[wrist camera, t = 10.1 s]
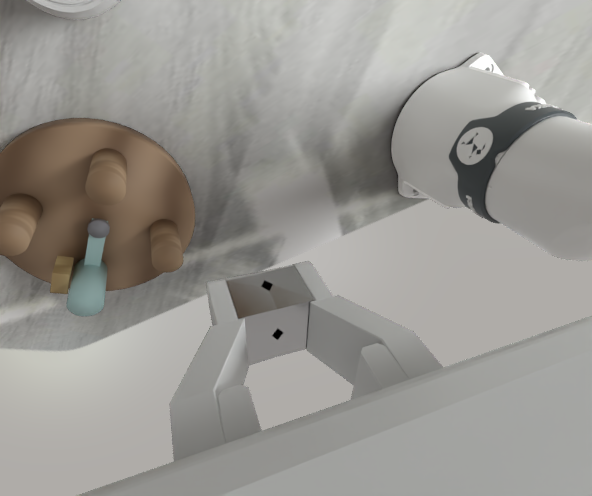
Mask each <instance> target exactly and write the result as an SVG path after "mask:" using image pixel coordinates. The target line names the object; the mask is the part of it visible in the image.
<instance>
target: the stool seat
mask: <svg viewBox="0 0 592 496" xmlns="http://www.w3.org/2000/svg"><path fill="white" fill-rule="evenodd" d="M92 218H93V219H103V220H105V221H108V223H109V226H110V230H109V234H108V235H107V236H106V238H105V243H104V248H103V253H102V259H101V261H103V262H104V263H105V264H106V266H107V269H108V270H107V280H106V290H105V291H112V290H119V289H125V288H129V287H133V286H136V285H139V284H142V283H145V282H147V281H149V280H151V279H154V278H155V277H157V276H159V275H160V274H162V273H164V272H166V273H167V272H173V271H175V270H177V269H179V268H180V267H181V265H182V264H183V253H184V252H185V250H186V248H187V247H188V245H189V243H190V240H191V238H192V235H193V231H194V227H195V207H194V202H193V198H192V194H191V191H190V187H189V184H188V182H187V179H186V177H185V175H184V173H183V172H182V170H181V168H180V167H179V165H178V164H177V163H176V161H175V160H174V159H173V158H172V156H171V155H170V154H169V153H168V152H167V151H166V150H165V149H163V148H162V147H161V146H160V145H158V144H157V143H156V142H155V141H153V140H152V139H150V138H148V137H147V136H145V135H144V134H142V133H140V132H138V131H135V130H133V129H131V128H129V127H126V126H123V125H120V124H117V123H114V122H109V121H105V120H99V119H90V118H69V119H61V120H55V121H51V122H47V123H43V124H41V125H38V126H36V127H33V128H31V129H29V130H27V131H25V132H24V133H22V134H20V135H19V136H17V137H16V138H15V139H14V140H13V141H11V142H10V143H9V144H8V145H7V146H6V147H5V148H4V150H3V151H2V152H1V153H0V255H4V256H6V257H7V258H8V259H10V260H11V261H12V262H13V263H14V264H15V265H17V266H18V267H20V268H21V269H23V270H24V271H26V272H28V273H29V274H31V275H33V276H35V277H37V278H39V279H42V280H44V281H46V282H49V283H51V289H50V293H62V294H67V293H68V288H70V286H71V281H72V277H73V272H74V268H75V265H76V263H77V262H79V261H80V260H82V259H85V256H86V250H87V244H88V238H89V233H88V231H87V228H88V224H89V222H90V221H91V220H92Z"/></svg>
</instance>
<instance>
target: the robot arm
mask: <svg viewBox="0 0 592 496" xmlns="http://www.w3.org/2000/svg"><path fill="white" fill-rule="evenodd" d="M535 92H536V91H535V90H534V89H533V88H531V87H529V84H527V83H526V82H523V81H520V80H517V79H514V78H510V77H507V76H504V75H503V73H502V72H501V71H500V69H499V68H498V67H497V65H496V64H495V62H494V61H493V60H492V58H491V57H490V56H489V55H487V54H484V53H478V54H476V55H474V56H473V57H471V58H470V59H469V60H467V61H466V62H465V63H464V64H462V65H461V66H459V67H457V68H455V69H451V70H448V71H444V72H442V73H439V74H437V75H435V76H434V77H432V78H431V79H429V80H428V81H426V82H425V83H424V84H423V85H422V86H420V87H419V88H418V89H417V90H416V91H415V93H414V94H413V95H412V96H411V97H410V99H409V100H408V101H407V103H406V104H405V106H404V108H403V109H402V111H401V113H400V115H399V117H398V120H397V122H396V125H395V128H394V132H393V136H392V143H391V153H392V159H393V163H394V166H395V168H396V170H397V173H398V191H399V194H400V195H402V196H404V197H407V198H425V199H431V200H432V201H434V202H436V203H437V204H439V205H441V206H442V207H444V208H447V209H448V208H450V207H453V208H461V207H468V208H469V209H471V210H472V211H473V212H474V213H475V214H477V215H479V216H480V217H482V218H485V219H487V220H489V221H491V222H493V223H501V224H503V225H504V226H506V227H507V228H509V229H511V230H512V231H514V232H515V233H517V234H519V235H520V236H522V237H523V238H525V239H526V240H528V241H529V242H531V243H533V244H534V245H536V246H537V247H539V248H541V249H542V250H544V251H545V252H547V253H548V254H550V255H552V256H554V257H557V258H561V259H566V260H576V261H589V260H592V124H591V123H587V122H583V121H580V120H577V118H576V117H575V116H574V115H573V114H572V113H570V112H567V111H564V110H562V109H561V108H558V107H556V106H553V105H549V104H546V102H545V101H544V100H543V99H542V98H540V97H538V96H536V95H534V94H535ZM206 288H207V295H208V300H209V308H210V313H211V320H212V325H213V326H211V327H210V328H209V330H208V332H207V334H206V336H205V338H204V340H203V342H202V343H201V345H200V347H199V349H198V351H197V353H196V355H195V357H194V358H193V361H192V362H191V364H190V366H189V368H188V370H187V372H186V374H185V375H184V377H183V379H182V381H181V383H180V385H179V387H178V389H177V391H176V392H175V394H174V396H173V398H172V400H171V402H170V416H171V431H172V444H173V456H174V462H171V463H169V464H166V465H163V466H160V467H157V468H154V469H151V470H149V471H146V472H143V473H140V474H137V475H134V476H132V477H128V478H126V479H123V480H120V481H117V482H114V483H111V484H109V485H106V486H103V487H100V488H97V489H94V490H91V491H88V492H85V493H82V494H80V495H77V496H592V316H590V317H587V318H584V319H581V320H578V321H575V322H573V323H570V324H567V325H564V326H561V327H558V328H555V329H552V330H550V331H547V332H544V333H541V334H538V335H535V336H532V337H530V338H527V339H524V340H521V341H518V342H515V343H512V344H509V345H507V346H504V347H501V348H498V349H495V350H492V351H489V352H487V353H484V354H481V355H478V356H476V357H472V358H470V359H466V360H464V361H461V362H458V363H455V364H452V365H450V366H446V367H444V368H443V366H442V365H441V364H440V363H439V362H438V360H437V359H436V358H435V357H434V355H433V354H432V353H431V352H430V351H429V349H428V348H427V347H426V346H425V345H424V343H423V342H422V341H421V340H420V338H419V337H418V336H417V335H416V334H415V332H414V331H412V330H410V329H408V328H406V327H404V326H402V325H400V324H397V323H395V322H393V321H391V320H389V319H387V318H385V317H383V316H381V315H379V314H377V313H375V312H373V311H370V310H368V309H366V308H364V307H362V306H360V305H358V304H356V303H354V302H352V301H350V300H347V299H345V298H343V297H341V296H339V295H337V296H333V294H332V293H331V292H330V290H329V289H328V287H327V285H326V284H325V282H324V281H323V279H322V278H321V276H320V275H319V274H318V272H317V270H316V269H315V267H314V266H313V264H312V263H311V262H309V261H305V262H302V263H297V264H293V265H289V266H285V267H280V268H276V269H271V270H266V271H261V272H256V273H250V274H245V275H239V276H234V277H229V278H225V279H219V280H214V281H209V282H206ZM304 349H307V351H308V352H310V353H311V354H312V355H314V356H315V357H316V358H318V359H319V360H320V361H322V362H323V363H324V364H326V365H327V366H328V367H330V368H331V369H332V370H334V371H335V372H336V373H338V374H339V375H340V376H342V377H343V378H344V379H346V380H347V381H348V382H350V383H351V384H352V385H354V387H353V391H352V396H351V400H349V401H346V402H344V403H341V404H338V405H335V406H332V407H329V408H326V409H324V410H320V411H318V412H315V413H312V414H309V415H306V416H303V417H300V418H298V419H295V420H292V421H289V422H286V423H284V424H281V425H278V426H275V427H272V428H269V429H266V430H263V431H261V428H260V424H259V421H258V418H257V414H256V411H255V407H254V404H253V401H252V398H251V394H250V391H249V388H248V387H246V386H244V385H243V384H244V381H245V378H246V375H247V371H248V368H249V365H252V364H255V363H258V362H261V361H265V360H268V359H271V358H274V357H277V356H281V355H285V354H289V353H292V352H296V351H300V350H304Z"/></svg>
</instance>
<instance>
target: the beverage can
mask: <svg viewBox="0 0 592 496" xmlns="http://www.w3.org/2000/svg"><path fill="white" fill-rule="evenodd" d="M26 1H27V2H29V3H30V4H32V5H33V6H35V7H37V8H38V9H40V10H42V11H44V12H46V13H49V14H51V15H54V16H57V17H61V18H65V19H72V20H83V19H89V18H93V17H97V16H99V15H101V14H103V13H105V12H106V11H108V10H110V9H111V8H113V7H115V6H116V5H117V4H118V3H119V2H120V1H121V0H26Z"/></svg>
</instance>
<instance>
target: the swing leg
mask: <svg viewBox="0 0 592 496" xmlns="http://www.w3.org/2000/svg"><path fill="white" fill-rule="evenodd" d="M109 230H110V226H109V223H108V221H105V220H103V219H93V218H92V220H91V221H90V222H89V224H88V228H87V231H88V233H89V238H88V244H87V250H86V256H85V259H82V260H80V261H79V262H77V263H76V265H75V268H74V272H73V277H72V281H71V286H70V290H69V295H68V300H67V308H68V310H69V311H70V312H71V313H73V314H75V315H78V316H92V315H95V314H97V313H99V312H100V311H101V310H102V309H103V307H104V300H105V290H106V280H107V270H108V269H107V266H106V264H105V263H104V262H103V261H101V259H102V253H103V248H104V243H105V238H106V236H107V235H108V234H109Z"/></svg>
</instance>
